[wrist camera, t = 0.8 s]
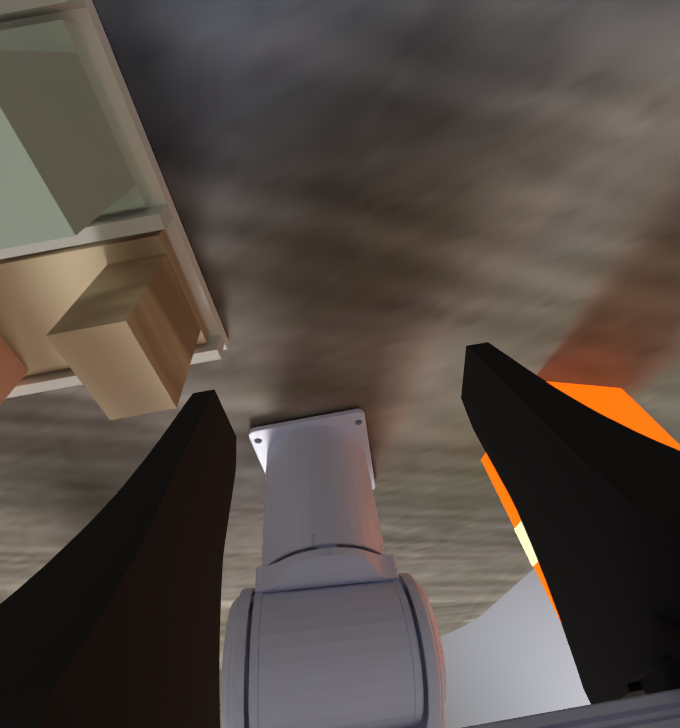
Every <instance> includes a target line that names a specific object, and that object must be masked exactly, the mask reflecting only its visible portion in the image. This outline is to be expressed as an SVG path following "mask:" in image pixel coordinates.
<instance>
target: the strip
mask: <svg viewBox="0 0 680 728" xmlns="http://www.w3.org/2000/svg"><path fill="white" fill-rule="evenodd" d="M151 200H152V197H151V195H150V193H149V190H148V188H147V186H146V184H145V181H144V179H143V177H142V174H141V172H140V170H139V167H138V165H137V163H136V160H135V158H134V156H133V153H132V151H131V149H130V146H129V144H128V142H127V140H126V137H125V135H124V133H123V130H122V128H121V126H120V123H119V121H118V119H117V116H116V114H115V112H114V109H113V107H112V105H111V102H110V100H109V98H108V95H107V93H106V91H105V89H104V86H103V84H102V82H101V79H100V77H99V75H98V72H97V70H96V68H95V65H94V63H93V61H92V58H91V56H90V54H89V51H88V49H87V47H86V45H85V42H84V40H83V38H82V35H81V33H80V31H79V28H78V26H77V24H76V22H73V21H68V20H56V21H51V22H46V23H40V24H35V25H29V26H24V27H18V28H13V29H8V30H2V31H0V249H6V248H11V247H16V246H22V245H27V244H33V243H38V242H44V241H49V240H54V239H60V238H65V237H71V236H76V235H77V234H78V233H79V232H80V231H82V230H83V229H84V228H85V227H86V226H88V225H89V224H90V223H91V222H92V221H94V220H95V219H96V218H97V217H98V216H99V215H101V214H105V213H110V212H115V211H121V210H126V209H132V208H137V207H143V206H146V205H147V204H148V203H149V202H150V201H151Z"/></svg>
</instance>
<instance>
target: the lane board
mask: <svg viewBox="0 0 680 728" xmlns="http://www.w3.org/2000/svg"><path fill="white" fill-rule="evenodd" d="M56 20H68V21H73V22H76V24H77V26H78V28H79V31H80V33H81V35H82V38H83V40H84V42H85V45H86V47H87V49H88V51H89V54H90V56H91V58H92V61H93V63H94V65H95V68H96V70H97V72H98V75H99V77H100V79H101V82H102V84H103V86H104V89H105V91H106V93H107V95H108V98H109V100H110V102H111V105H112V107H113V109H114V112H115V114H116V116H117V119H118V121H119V123H120V126H121V128H122V130H123V133H124V135H125V137H126V140H127V142H128V144H129V146H130V149H131V151H132V153H133V156H134V158H135V160H136V163H137V165H138V167H139V170H140V172H141V174H142V177H143V179H144V181H145V184H146V186H147V188H148V190H149V193H150V195H151V197H152V200H151V201H150V202H149V203H148V204H147V205H146V206H143V207H137V208H132V209H126V210H121V211H115V212H110V213H105V214H101V215H99V216H98V217H97V218H96V219H95V220H94V221H92V222H91V223H90V224H89V225H88V226H86V227H85V228H84V229H83V230H82V231H80V232H79V233H78V234H77V235H76V236H71V237H65V238H60V239H54V240H49V241H44V242H38V243H33V244H27V245H22V246H16V247H11V248H6V249H0V259H5V258H10V257H16V256H21V255H27V254H32V253H38V252H43V251H48V250H54V249H59V248H65V247H70V246H76V245H81V244H86V243H92V242H97V241H103V240H108V239H114V238H119V237H124V236H130V235H135V234H141V233H146V232H152V231H157V230H163V229H165V230H166V232H167V234H168V237H169V239H170V241H171V244H172V246H173V248H174V251H175V253H176V255H177V258H178V260H179V262H180V265H181V267H182V269H183V272H184V274H185V276H186V278H187V281H188V283H189V285H190V288H191V290H192V292H193V295H194V297H195V299H196V302H197V304H198V306H199V309H200V311H201V313H202V316H203V318H204V320H205V322H206V325H207V327H208V329H209V336H208V339H207V343H202V344H197V345H196V347H195V350H194V353H193V357H192V360H191V363H190V364H196V363H201V362H207V361H212V360H217V359H221V358H222V353H223V350H224V349H227V346H228V338H227V336H226V333H225V331H224V328H223V326H222V323H221V321H220V318H219V316H218V313H217V311H216V308H215V306H214V303H213V301H212V298H211V296H210V293H209V291H208V288H207V286H206V283H205V281H204V278H203V276H202V273H201V271H200V268H199V266H198V263H197V261H196V258H195V256H194V253H193V251H192V248H191V246H190V243H189V241H188V238H187V236H186V233H185V231H184V228H183V226H182V223H181V221H180V218H179V216H178V213H177V211H176V208H175V206H174V203H173V201H172V198H171V196H170V193H169V191H168V188H167V186H166V183H165V181H164V178H163V176H162V173H161V171H160V169H159V166H158V164H157V161H156V159H155V156H154V154H153V151H152V149H151V146H150V144H149V141H148V139H147V136H146V134H145V131H144V129H143V126H142V124H141V121H140V119H139V116H138V114H137V111H136V109H135V106H134V104H133V101H132V99H131V96H130V94H129V91H128V89H127V86H126V84H125V81H124V79H123V76H122V74H121V71H120V69H119V66H118V64H117V61H116V59H115V56H114V54H113V51H112V49H111V46H110V44H109V41H108V39H107V36H106V34H105V31H104V29H103V26H102V24H101V21H100V19H99V16H98V14H97V11H96V9H95V6H94V4H93V1H92V0H0V31H2V30H8V29H13V28H18V27H24V26H29V25H35V24H40V23H46V22H51V21H56ZM81 384H82V383H81V381H80V380H79V379H78V377H77V376H76V375H75V373H74V372H73V371H72V370H71V368H66V369H61V370H55V371H50V372H44V373H39V374H34V375H28V376H24V377H23V378H22V379H21V381H20V382H19V383H18V384H17V385H16V387H15V388H14V389H13V390H12V391H11V393H10V394H9V395H8V396H7V398H11V397H16V396H21V395H27V394H32V393H38V392H43V391H49V390H54V389H60V388H65V387H70V386H76V385H81Z"/></svg>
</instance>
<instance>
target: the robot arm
mask: <svg viewBox="0 0 680 728" xmlns="http://www.w3.org/2000/svg"><path fill="white" fill-rule="evenodd" d="M461 399H462V401H463V404H464V407H465V409H466V412H467V415H468V417H469V420H470V422H471V425H472V427H473V429H474V431H475V433H476V435H477V437H478V439H479V441H480V442H481V444H482V446H483V448H484V450H485V452H486V454H487V455H488V457H489V459H490V461H491V463H492V464H493V466H494V468H495V470H496V472H497V474H498V475H499V477H500V479H501V481H502V483H503V484H504V486H505V488H506V490H507V492H508V494H509V496H510V498H511V500H512V502H513V504H514V506H515V508H516V510H517V512H518V514H519V517H520V519H521V521H522V524H523V526H524V528H525V531H526V533H527V536H528V538H529V540H530V543H531V545H532V548H533V550H534V553H535V555H536V558H537V560H538V563H539V565H540V568H541V570H542V573H543V575H544V578H545V580H546V583H547V586H548V588H549V591H550V594H551V596H552V599H553V602H554V604H555V607H556V610H557V612H558V615H559V618H560V620H561V623H562V626H563V629H564V632H565V635H566V638H567V641H568V644H569V646H570V649H571V652H572V655H573V658H574V661H575V664H576V666H577V670H578V673H579V676H580V679H581V682H582V685H583V688H584V690H585V693H586V695H587V697H588V699H589V701H590V703H591V705H585V706H581V707H574V708H569V709H563V710H558V711H553V712H547V713H541V714H535V715H530V716H524V717H519V718H513V719H509V720H502V721H497V722H491V723H485V724H480V725H474V726H469V727H463V728H680V450H677V449H675V448H672V447H670V446H668V445H665V444H663V443H661V442H658V441H656V440H654V439H651V438H649V437H647V436H645V435H643V434H640V433H638V432H636V431H634V430H632V429H630V428H628V427H626V426H624V425H622V424H620V423H618V422H616V421H614V420H612V419H610V418H608V417H606V416H604V415H602V414H600V413H598V412H597V411H595V410H593V409H591V408H589V407H588V406H586V405H584V404H582V403H581V402H579V401H577V400H575V399H574V398H572V397H570V396H568V395H567V394H565V393H564V392H562V391H560V390H559V389H557V388H555V387H554V386H552V385H551V384H549V383H547V382H546V381H544V380H543V379H541V378H540V377H538V376H537V375H535V374H534V373H532V372H531V371H529V370H528V369H526V368H525V367H523V366H522V365H520V364H519V363H517V362H516V361H515V360H513V359H512V358H510V357H509V356H507V355H506V354H504V353H503V352H501V351H500V350H499V349H497V348H496V347H494V346H493V345H491V344H489V343H488V342H487V343H481V344H475V345H469V346H466V354H465V365H464V375H463V385H462V395H461ZM356 420H359V421H356ZM249 438H250V441H251V443H252V445H253V447H254V450H255V452H256V454H257V456H258V459H259V461H260V463H261V465H262V468H263V470H264V472H265V474H266V479H265V501H264V523H263V545H262V566H260V567H257V568H256V584H255V589H254V588H246V589H243V590H242V591H241V593H240V596H239V597H238V598H237V599H236V600H235V601H234V602H233V604H232V606H231V608H230V612H229V616H228V621H227V626H226V633H225V641H224V650H223V661H222V676H221V677H222V678H221V723H222V728H445V713H444V712H445V711H444V704H445V699H446V672H445V663H444V656H443V650H442V644H441V639H440V634H439V630H438V626H437V622H436V619H435V615H434V612H433V609H432V607H431V604H430V601H429V599H428V597H427V595H426V593H425V591H424V590H423V588H422V587H421V586H420V585H419V584H418V583H417V582H416V581H415V579H414V578H413V577H412V576H411V575H410V574H408V573H399V574H398V570H397V565H396V561H395V556H394V555H386V553H385V548H384V543H383V538H382V533H381V528H380V523H379V519H378V514H377V509H376V504H375V499H374V494H373V490H374V489H375V481H374V474H373V468H372V461H371V454H370V447H369V441H368V434H367V427H366V420H365V414H364V411H363V410H362V409H352V410H347V411H341V412H336V413H330V414H325V415H319V416H314V417H308V418H303V419H298V420H292V421H287V422H281V423H276V424H270V425H265V426H259V427H254V428H251V429H250V430H249ZM257 438H259V439H257ZM235 471H236V435H235V433H234V431H233V429H232V427H231V424H230V422H229V420H228V418H227V416H226V414H225V411H224V409H223V407H222V405H221V403H220V401H219V398H218V396H217V394H216V392H215V390H209V391H203V392H198V393H193V394H192V396H191V397H190V398H189V400H188V401H187V402H186V404H185V405H184V407H183V408H182V409H181V411H180V412H179V413H178V415H177V416H176V418H175V419H174V421H173V422H172V423H171V425H170V426H169V428H168V429H167V430H166V432H165V433H164V434H163V436H162V437H161V439H160V440H159V441H158V443H157V444H156V445H155V447H154V448H153V449H152V451H151V452H150V453H149V455H148V456H147V457H146V458H145V460H144V461H143V462H142V463H141V465H140V466H139V467H138V468H137V470H136V471H135V472H134V473H133V475H132V476H131V477H130V478H129V479H128V481H127V482H126V483H125V484H124V486H123V487H122V488H121V489H120V490H119V491H118V493H117V494H116V495H115V496H114V497H113V498H112V499H111V500H110V502H109V503H108V504H107V505H106V506H105V507H104V508H103V509H102V510H101V511H100V512H99V513H98V514H97V515H96V517H95V518H94V519H93V520H92V521H91V522H90V523H89V524H88V525H87V526H86V527H85V528H84V529H83V530H82V531H81V532H80V533H79V534H78V535H77V536H76V537H75V538H74V539H73V540H71V541H70V542H69V543H68V544H67V545H66V546H65V547H64V548H63V549H62V550H61V551H60V552H59V553H58V554H57V555H56V556H55V557H54V558H53V559H52V560H50V561H49V562H48V563H47V564H46V565H45V566H44V567H43V568H42V569H41V570H40V571H38V572H37V573H36V574H35V575H34V576H33V577H32V578H30V579H29V580H28V581H27V582H26V583H25V584H24V585H22V586H21V587H20V588H19V589H18V590H17V591H15V592H14V593H13V594H12V595H11V596H9V597H8V598H7V599H6V600H5V601H4V602H2V603H1V604H0V728H220V708H219V707H220V702H219V646H220V607H221V584H222V564H223V554H224V545H225V538H226V531H227V525H228V518H229V512H230V505H231V499H232V492H233V485H234V478H235Z"/></svg>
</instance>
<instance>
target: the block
mask: <svg viewBox="0 0 680 728" xmlns="http://www.w3.org/2000/svg"><path fill="white" fill-rule="evenodd" d="M28 371H29V370H28V368H27V367H26V366H25V365H24V364H23V363H22V361H21V360H20V359H19V358H18V357H17V356H16V354H15V353H14V352H13V351H12V350H11V349H10V347H9V346H8V345H7V344H6V343H5V342H4V340H3V339H2V338H1V337H0V405H1V404H2V402H3V401H4V400H5V399H6V398H7V396H8V395H9V394H10V393H11V391H12V390H13V389H14V388H15V387H16V385H17V384H18V383H19V382H20V381H21V379H22V378H23V377H24V376H25V374H26V373H27V372H28Z"/></svg>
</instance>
